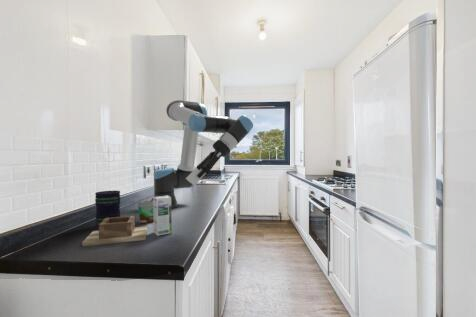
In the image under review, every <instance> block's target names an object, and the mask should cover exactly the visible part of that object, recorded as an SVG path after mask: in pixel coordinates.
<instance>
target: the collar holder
mask: <svg viewBox="0 0 476 317" xmlns="http://www.w3.org/2000/svg"><path fill="white" fill-rule="evenodd" d="M135 218H136V216H135V215H127V216H121V217H112V218H105V219H104V220H103V221H102V222H101V223H100V224H99V229H98V230H93V231H91V233H89V235H87V237H86V238H85V239H84V240H83V241H82V243H81V244H82V247H89V246H98V245H109V244H116V243H117V244H121V243H127V242H137V241H138V242H139V241H145V240H146V238H147V233H148V226H147V225H145V226H135V224H136V223H135V222H136V221H135Z"/></svg>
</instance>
